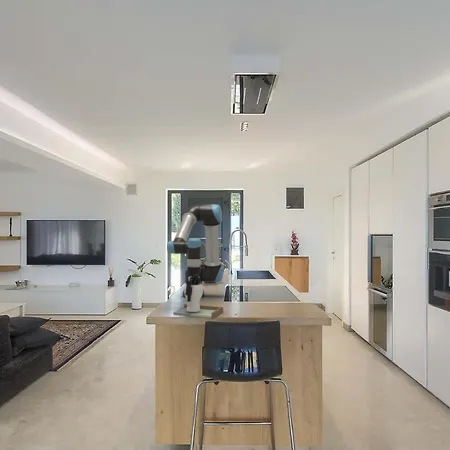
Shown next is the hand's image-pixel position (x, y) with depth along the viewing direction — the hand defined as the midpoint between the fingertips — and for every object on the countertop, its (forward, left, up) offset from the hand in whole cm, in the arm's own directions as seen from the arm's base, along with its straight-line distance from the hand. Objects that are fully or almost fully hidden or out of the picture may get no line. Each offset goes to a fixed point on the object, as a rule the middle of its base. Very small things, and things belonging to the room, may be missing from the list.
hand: (193, 305), depth 242 cm
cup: (0, 0, -3) cm, 3 cm away
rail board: (-2, +2, -5) cm, 6 cm away
